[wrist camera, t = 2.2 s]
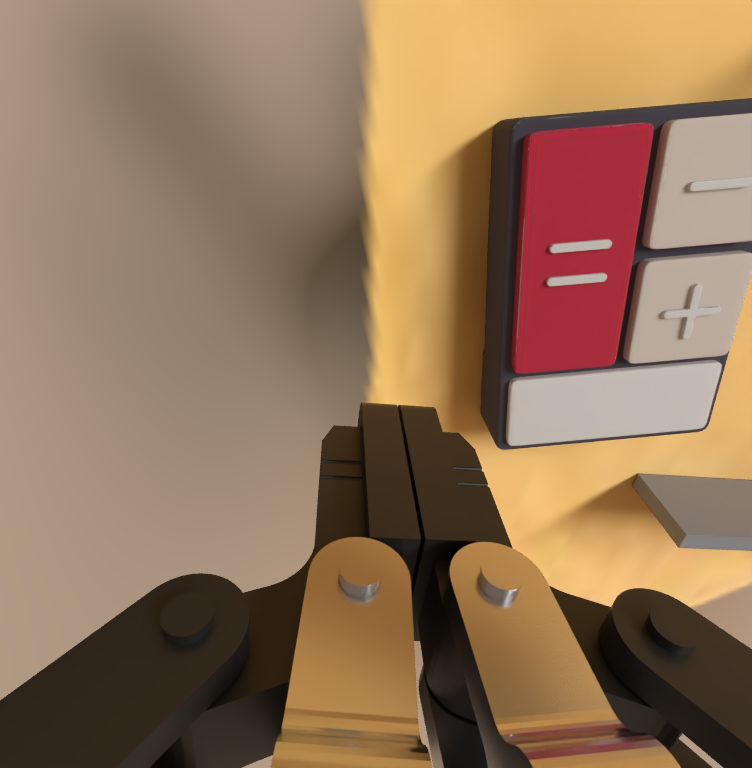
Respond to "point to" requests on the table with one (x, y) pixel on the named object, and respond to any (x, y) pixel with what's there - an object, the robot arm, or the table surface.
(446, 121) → the table surface
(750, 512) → the box
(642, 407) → the calculator
